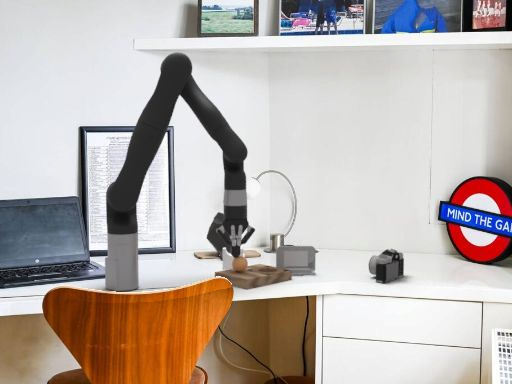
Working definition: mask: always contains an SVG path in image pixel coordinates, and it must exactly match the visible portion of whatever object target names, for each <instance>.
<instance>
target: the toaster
mask: <svg viewBox="0 0 512 384" xmlns="http://www.w3.org/2000/svg"><path fill="white" fill-rule="evenodd" d="M275 254H276V255H275V267H277V268H282V269H287V270H292V277H294V276H295V277H296V276H301V277H302V276H303V277H304V276H316V248H315V247H314V246H312V245H280V246H278V247H277V248H276V251H275Z"/></svg>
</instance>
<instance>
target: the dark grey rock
mask: <svg viewBox="0 0 512 384" xmlns="http://www.w3.org/2000/svg"><path fill="white" fill-rule="evenodd" d="M223 221H224V212H220V211H218V212H217V213H216V215H215V216H214V217H213V220H212V222H211V224H210V225H209V228H208V231H207V235H206V240H207V241H208V242H209V243H210V244H211V246H212V247H213V248H214V250H215V251H216V255H217V254H218V255H220V259H221V261H222V262H223V247H224V248H226V250H227V252H228V253H229V254H231V245H228V244H226V243H225V241H224V240H223V239H222V238H221V237H220V235H219V234H218V233H217V232H216V229H217V228H218V229H219V228H220V227H221V226H222V223H223ZM223 234H224V235H225V236H226V237H227V239H228V240H230V235H229V234H228V233H227V231H226V230H225V229H224V233H223ZM235 242H236V235H235Z"/></svg>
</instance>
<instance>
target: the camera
mask: <svg viewBox="0 0 512 384" xmlns="http://www.w3.org/2000/svg"><path fill="white" fill-rule="evenodd" d="M404 269H405V258H404V253H403V252H399V251H398V250H396V249H393V248H390V249H389V248H387V249H385V250H384V251H382V252H380V254H378V255H372V256H371V257H370V258H369V261H368V271H369V274H371V275H374V276H375V283H380V284H384V283H385V284H386V283H389V282H392V281H394V280H397V279H400V278H403V277H404Z"/></svg>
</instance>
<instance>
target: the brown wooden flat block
mask: <svg viewBox="0 0 512 384" xmlns="http://www.w3.org/2000/svg"><path fill="white" fill-rule="evenodd" d="M216 276H221V277H225V278H227V279H228V280H229V281H230V282H231V283H232V285H233V286H232V287H236V288H241V289H245V290H250V289H255V288H258V287H264V286H269V285H273V284H278V283H283V282H286V281H291V280H292V279H293V278H292V277H293V276H292V270H287V269H282V268H277V267H276V266H272V265H266V264H261V263H257V264H253V265H252V264H251V265H248V266H247V268H246V269H245V270H244V271H242V272H238V271H236V270H234V268H233V269H223V270H220V271H214V278H215V277H216Z"/></svg>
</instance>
